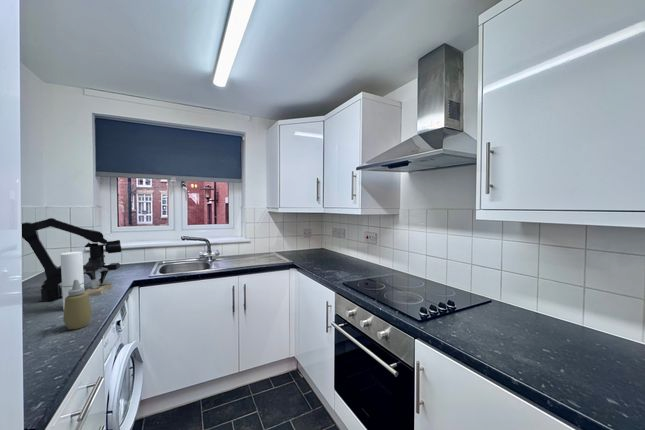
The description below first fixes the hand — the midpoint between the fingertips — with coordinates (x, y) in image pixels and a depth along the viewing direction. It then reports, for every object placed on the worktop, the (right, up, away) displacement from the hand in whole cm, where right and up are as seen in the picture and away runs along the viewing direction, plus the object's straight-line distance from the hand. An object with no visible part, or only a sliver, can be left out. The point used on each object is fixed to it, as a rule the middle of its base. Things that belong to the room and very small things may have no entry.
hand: (98, 283), depth 142 cm
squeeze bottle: (+26, -6, -40) cm, 48 cm away
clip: (0, -3, 0) cm, 3 cm away
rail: (0, -4, 0) cm, 4 cm away
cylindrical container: (+8, -5, -22) cm, 24 cm away
